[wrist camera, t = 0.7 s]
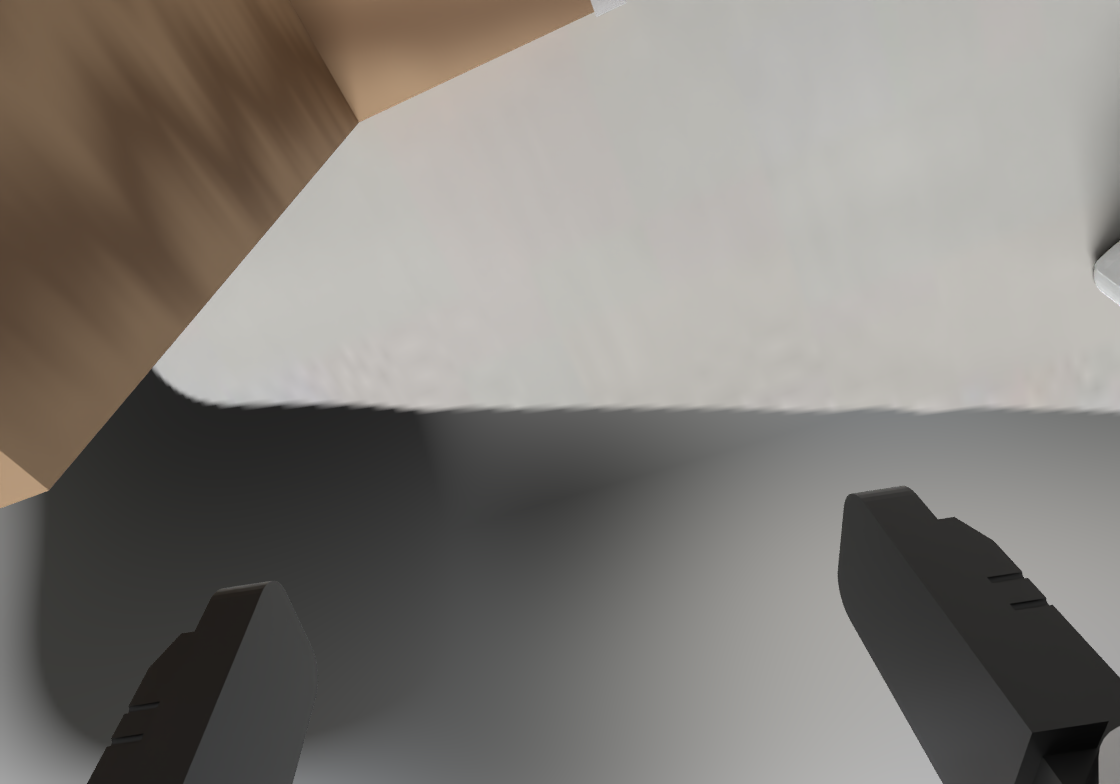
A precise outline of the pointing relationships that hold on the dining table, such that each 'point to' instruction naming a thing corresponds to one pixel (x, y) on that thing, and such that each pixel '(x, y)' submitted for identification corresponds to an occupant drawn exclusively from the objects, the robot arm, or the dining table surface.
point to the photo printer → (1109, 273)
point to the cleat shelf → (178, 170)
